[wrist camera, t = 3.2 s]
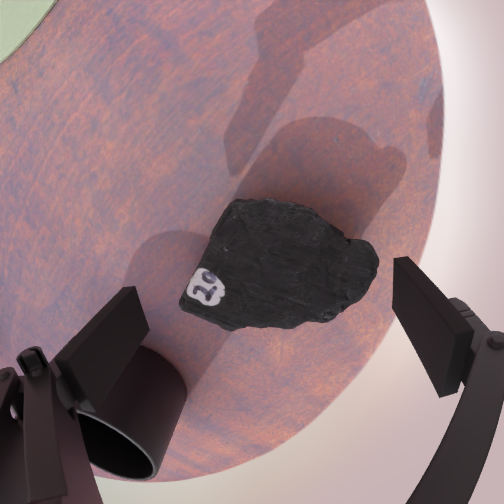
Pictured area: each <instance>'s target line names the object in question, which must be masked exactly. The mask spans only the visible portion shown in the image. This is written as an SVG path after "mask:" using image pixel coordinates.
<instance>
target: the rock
mask: <svg viewBox="0 0 504 504" xmlns="http://www.w3.org/2000/svg"><path fill="white" fill-rule="evenodd" d="M210 239H211V240H210V242H209V244H208V246H207V248H206V250H205V252H204V254H203V256H202V259H201V261H200V263H199V265H198V266H197V268H196V270H195V272H194V273H193V275H192V277H191V279H190V281H189V283H188V285H187V287H186V289H185V291H184V293H183V294H182V296H181V298H180V300H179V306H180V308H181V310H183V311H185V312H188V313H191V314H193V315H195V316H197V317H200V318H202V319H205V320H207V321H209V322H211V323H214V324H217V325H218V326H220V327H221V328H223V329H226V330H228V331H234V330H237V329H239V328H245V327H246V326H250V327H258V328H266V327H277V328H282V329H294V328H295V327H297V326H299V325H300V324H302V323H304V322H307V321H310V322H319V323H327V322H329V321H331V320H333V319H334V318H335V317H336V316H337V315H338V314H339V313H341V312H343V311H344V310H345V309H346V308H347V307H348V306H350V305H352V304H354V303H356V302H358V301H359V300H361V299H362V298H363V296H364V295H365V294H366V292H367V291H368V289H369V287H370V285H371V283H372V281H373V280H374V278H375V277H376V274H377V268H378V266H379V258H378V256H377V254H376V252H375V250H374V248H373V246H372V245H371V244H370V243H369V242H367V241H365V240H360V239H347V238H345V237H344V233H343V232H342V231H340V230H339V229H337V228H336V227H334V226H333V225H331V224H329V223H328V222H327V221H325V220H323V219H322V218H320V217H319V216H318V214H317V213H316V212H315V211H314V210H312V209H311V208H308V207H305V206H303V205H298V204H296V203H293V202H282V201H278V200H274V199H269V198H266V199H263V200H254V199H249V200H241V199H235V200H234V201H233V202H232V203H230V204H229V206H228V207H227V208H226V209H225V210H224V212H223V214H222V216H221V217H220V219H219V220H218V222H217V224H216V225H215V227H214V229H213V231H212V234H211V236H210Z"/></svg>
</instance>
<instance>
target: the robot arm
mask: <svg viewBox="0 0 504 504" xmlns="http://www.w3.org/2000/svg"><path fill="white" fill-rule="evenodd" d="M392 309H393V311H394V312H395V314H396V316H397V318H398V319H399V321H400V323H401V325H402V327H403V328H404V330H405V332H406V334H407V335H408V337H409V339H410V341H411V343H412V345H413V346H414V349H415V350H416V352H417V354H418V356H419V358H420V360H421V362H422V364H423V366H424V368H425V369H426V372H427V374H428V376H429V378H430V380H431V382H432V384H433V386H434V388H435V390H436V392H437V394H438V396H439V398H440V397H444V396H448V395H451V394H454V393H457V392H458V389H459V386H460V383H461V381H462V383H463V384H464V386H465V387H464V390H463V393H462V395H461V398H460V400H459V403H458V405H457V408H456V410H455V413H454V415H453V417H452V419H451V422H450V424H449V426H448V428H447V430H446V433H445V435H444V437H443V439H442V441H441V443H440V445H439V447H438V449H437V451H436V453H435V455H434V457H433V459H432V460H431V462H430V464H429V466H428V468H427V469H426V471H425V473H424V475H423V476H422V478H421V480H420V482H419V483H418V485H417V486H416V488H415V490H414V491H413V493H412V495H411V496H410V498H409V499H408V501H407V502H406V504H468V502H469V500H470V498H471V496H472V493H473V491H474V489H475V486H476V484H477V481H478V479H479V477H480V474H481V472H482V469H483V467H484V464H485V461H486V458H487V456H488V453H489V450H490V447H491V443H492V441H493V437H494V434H495V431H496V428H497V424H498V420H499V417H500V413H501V409H502V405H503V401H504V333H502V332H499V331H490V330H489V329H488V328H487V326H486V325H485V324H484V323H483V322H482V321H481V320H480V319H479V318H478V316H476V315H475V313H474V312H473V311H472V310H471V309H470V308H469V307H468V306H467V304H466V303H464V302H463V301H461V300H459V299H457V298H450V299H448V298H447V297H446V296H445V295H444V294H443V293H442V292H441V291H440V290H439V289H438V287H436V285H435V284H434V283H433V282H432V281H431V280H430V279H429V278H428V277H427V276H426V275H425V274H424V272H423V271H422V270H421V269H420V268H419V267H418V266H417V265H416V264H415V263H414V262H413V261H412V260H411V259H410V258H409V257H408V256H406V257H399V258H394V269H393V301H392ZM148 332H149V327H148V324H147V321H146V318H145V315H144V312H143V309H142V306H141V303H140V300H139V297H138V294H137V290H136V287H135V286H131V287H123V288H122V289H121V290H120V291H119V292H118V293H117V294H116V295H115V296H114V297H113V298H112V299H111V300H110V301H109V302H108V303H107V304H106V305H105V306H104V307H103V308H102V309H101V310H100V311H99V312H98V313H97V314H96V315H95V316H94V317H93V318H92V319H91V320H90V321H89V322H88V323H87V324H86V325H85V326H84V328H83V329H82V330H81V331H80V332H79V333H78V334H77V335H76V336H74V337H73V338H72V339H71V340H70V341H69V342H68V344H66V345H65V347H64V348H63V349H62V350H61V351H60V352H59V353H58V354H57V355H56V356H55V357H54V358H53V359H52V361H51V362H50V363H48V361H47V359H46V357H45V355H44V353H43V351H42V349H41V348H40V347H38V346H34V347H30V348H28V349H26V350H24V351H23V352H21V353H20V354H19V355H18V356H17V359H16V360H17V362H18V364H19V366H20V367H21V369H22V371H23V373H24V374H25V376H18V375H17V373H16V371H15V369H14V368H12V367H7V368H3V369H2V370H0V504H103V501H102V498H101V496H100V493H99V490H98V487H97V484H96V481H95V478H94V475H93V472H92V469H91V466H90V462H89V459H88V455H87V452H86V448H85V444H84V441H83V437H82V433H81V428H80V424H79V420H78V415H77V411H76V409H75V408H74V406H73V405H74V403H75V402H76V400H77V401H78V403H79V405H80V406H81V408H82V409H83V410H85V411H90V412H97V411H98V409H99V408H100V406H101V404H102V403H103V401H104V400H105V398H106V396H107V395H108V393H109V392H110V390H111V389H112V387H113V385H114V384H115V382H116V381H117V379H118V378H119V376H120V375H121V373H122V371H123V370H124V368H125V367H126V365H127V364H128V362H129V361H130V359H131V358H132V356H133V355H134V353H135V352H136V350H137V349H138V347H139V345H140V344H141V342H142V341H143V339H144V338H145V336H146V335H147V333H148ZM10 408H11V409H12V411H13V412H14V414H15V415H16V416H15V419H14V418H13V417H12V415H11V412H10Z"/></svg>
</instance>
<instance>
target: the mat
mask: <svg viewBox="0 0 504 504" xmlns="http://www.w3.org/2000/svg"><path fill="white" fill-rule="evenodd" d="M57 1H58V0H0V63H2V62H3V61H5V60H6V59H7V58H8V57H9V56H10V55H12V54H13V53H14V52H15V51H16V50H17V49H18V48H19V47H20V46H21V45H22V44H23V43H24V42H25V40H26V39H27V38H28V37H29V36H30V35H31V34H32V33H33V31H34V30H35V29H36V28H37V27H38V25H39V24H40V23H41V22H42V21H43V19H44V18H45V17H46V15H47V14H48V13H49V12H50V10H51V9H52V8H53V6H54V5H55V3H56V2H57Z"/></svg>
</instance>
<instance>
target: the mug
mask: <svg viewBox="0 0 504 504" xmlns="http://www.w3.org/2000/svg"><path fill="white" fill-rule="evenodd" d="M185 401H186V391H185V386H184V383H183V381H182V379H181V377H180V375H179V374H178V372H177V371H176V370H175V369H174V368H173V367H172V365H171V364H170V363H168V362H167V361H166V360H165V359H164V358H162V357H161V356H160V355H158V354H157V353H155V352H153V351H151V350H149V349H147V348H145V347H143V346H139V347H138V349H137V350H136V352H135V353H134V355H133V356H132V358H131V359H130V361H129V362H128V364H127V365H126V367H125V368H124V370H123V371H122V373H121V375H120V376H119V378H118V379H117V381H116V382H115V384H114V385H113V387H112V389H111V390H110V392H109V393H108V395H107V396H106V398H105V400H104V401H103V403H102V404H101V406H100V408H99V409H98V411H97V412H90V411H85V410H83V409H82V408H81V406H80V405H79V403H78V401H77V400H76V402H75V403H74V405H73V406H74V408H75V409H76V411H77V415H78V420H79V424H80V428H81V433H82V437H83V441H84V444H85V448H86V452H87V455H88V459H89V462H90V463H91V464H92V465H94V466H96V467H98V468H99V469H101V470H103V471H105V472H108V473H110V474H112V475H115V476H118V477H121V478H125V479H129V480H135V481H146V480H150V479H152V478H154V477H155V476H156V475H157V473H158V471H159V468H160V466H161V463H162V461H163V458H164V455H165V453H166V450H167V448H168V445H169V442H170V440H171V437H172V435H173V432H174V429H175V427H176V424H177V422H178V419H179V417H180V414H181V411H182V409H183V406H184V404H185Z"/></svg>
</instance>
